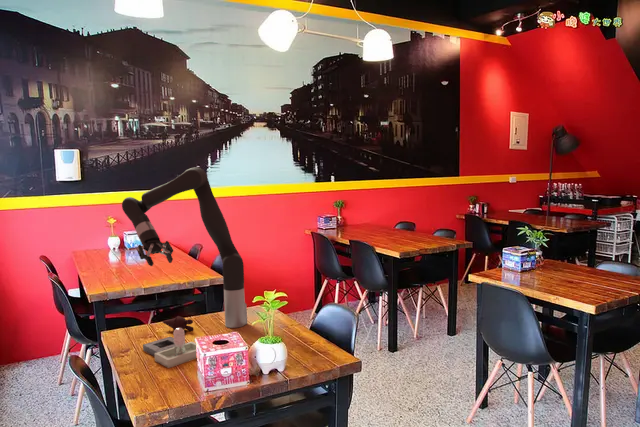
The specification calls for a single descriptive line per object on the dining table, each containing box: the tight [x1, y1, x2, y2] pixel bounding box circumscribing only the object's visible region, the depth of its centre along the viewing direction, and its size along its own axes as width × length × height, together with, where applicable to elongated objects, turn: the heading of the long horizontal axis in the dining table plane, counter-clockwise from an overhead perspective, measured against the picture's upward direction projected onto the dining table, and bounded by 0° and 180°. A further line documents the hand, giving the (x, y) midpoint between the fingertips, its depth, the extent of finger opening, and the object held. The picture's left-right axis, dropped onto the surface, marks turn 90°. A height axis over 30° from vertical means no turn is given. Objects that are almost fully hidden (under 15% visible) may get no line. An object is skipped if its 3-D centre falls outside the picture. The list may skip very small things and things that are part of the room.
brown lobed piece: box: [161, 315, 195, 332], centre depth 213 cm, size 7×7×15 cm
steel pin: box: [173, 328, 186, 356], centre depth 181 cm, size 4×4×11 cm
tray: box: [154, 341, 197, 369], centre depth 182 cm, size 16×10×3 cm, turn 136°
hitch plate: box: [142, 336, 187, 358], centre depth 190 cm, size 12×12×2 cm
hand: (161, 263), depth 200 cm, fingers open, 8 cm apart
